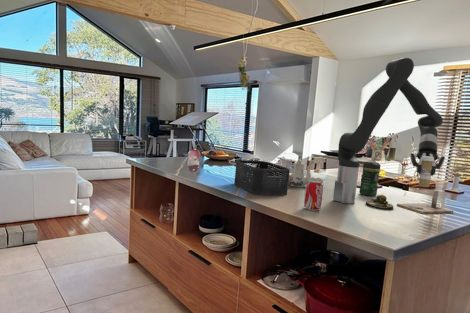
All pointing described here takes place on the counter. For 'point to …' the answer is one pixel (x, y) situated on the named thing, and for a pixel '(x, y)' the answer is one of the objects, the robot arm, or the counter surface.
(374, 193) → the coffee jar
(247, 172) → the storage bin
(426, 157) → the sprinkles bottle
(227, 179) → the counter surface
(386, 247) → the counter surface
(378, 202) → the olive green hat
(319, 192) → the soda can
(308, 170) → the chinaware
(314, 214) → the counter surface
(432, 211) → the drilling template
